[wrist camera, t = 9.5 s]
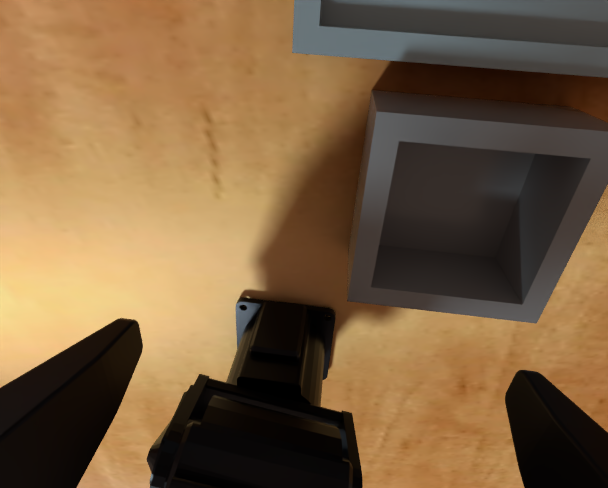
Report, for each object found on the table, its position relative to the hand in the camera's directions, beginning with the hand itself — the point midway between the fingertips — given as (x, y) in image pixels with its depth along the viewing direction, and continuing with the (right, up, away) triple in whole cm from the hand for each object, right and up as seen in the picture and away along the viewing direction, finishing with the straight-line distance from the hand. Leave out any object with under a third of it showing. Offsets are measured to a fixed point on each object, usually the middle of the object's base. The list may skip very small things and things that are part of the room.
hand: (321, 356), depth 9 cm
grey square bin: (+7, +5, +11) cm, 14 cm away
